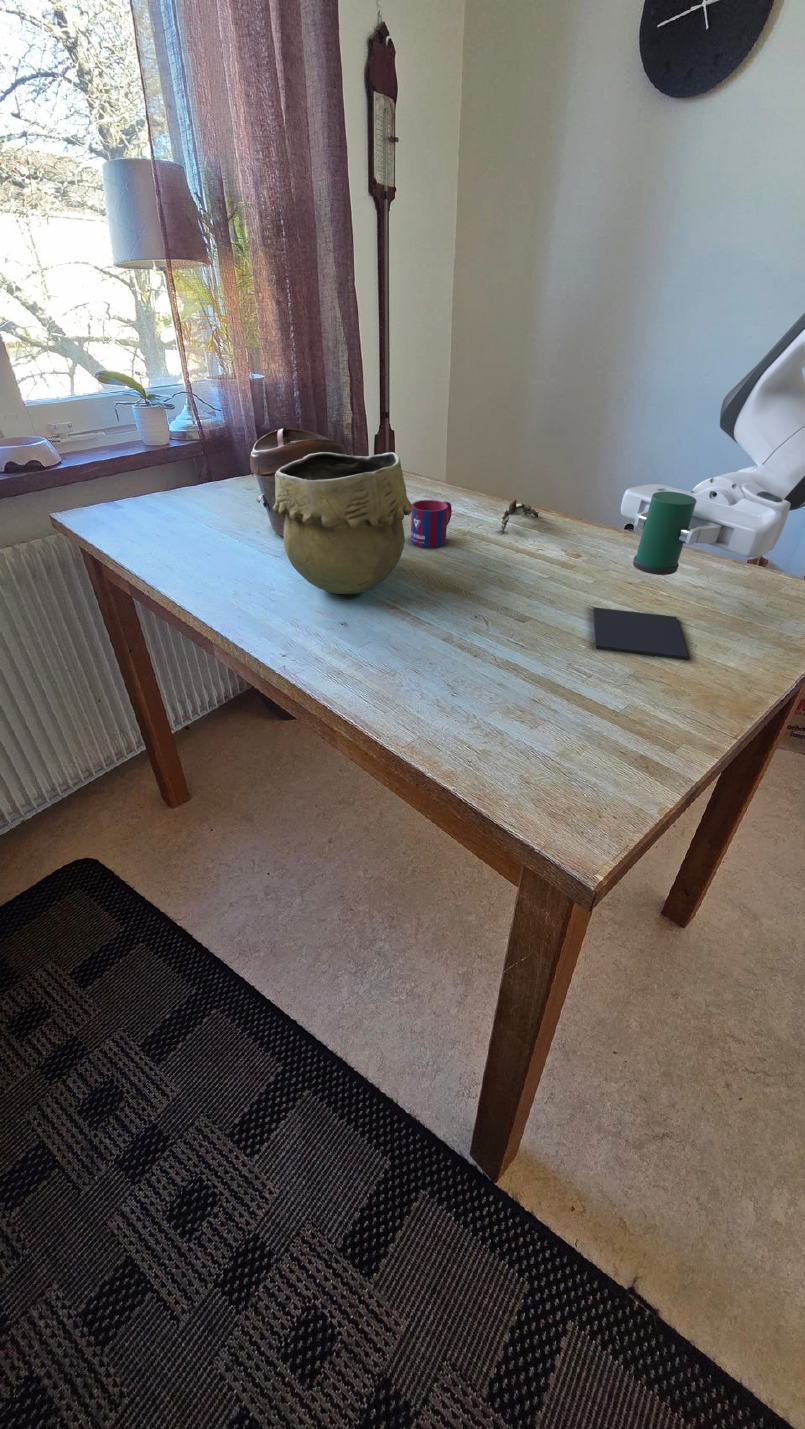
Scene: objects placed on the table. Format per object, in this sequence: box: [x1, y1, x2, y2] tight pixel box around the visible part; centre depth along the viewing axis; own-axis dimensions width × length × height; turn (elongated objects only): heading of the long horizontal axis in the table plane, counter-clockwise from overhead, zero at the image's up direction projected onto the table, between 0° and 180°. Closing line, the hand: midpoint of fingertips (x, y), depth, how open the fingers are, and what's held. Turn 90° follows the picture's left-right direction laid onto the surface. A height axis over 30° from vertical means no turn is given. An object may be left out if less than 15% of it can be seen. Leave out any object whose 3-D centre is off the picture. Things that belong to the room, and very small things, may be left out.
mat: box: [592, 607, 689, 661], centre depth 86 cm, size 12×12×1 cm
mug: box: [410, 499, 453, 549], centre depth 113 cm, size 7×10×7 cm
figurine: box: [499, 499, 540, 533], centre depth 121 cm, size 6×4×15 cm
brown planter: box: [249, 426, 348, 537], centre depth 113 cm, size 18×20×18 cm
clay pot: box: [273, 452, 412, 595], centre depth 91 cm, size 21×21×20 cm
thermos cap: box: [632, 492, 696, 576], centre depth 77 cm, size 6×6×9 cm
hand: (661, 529), depth 76 cm, fingers closed on thermos cap, 5 cm apart
